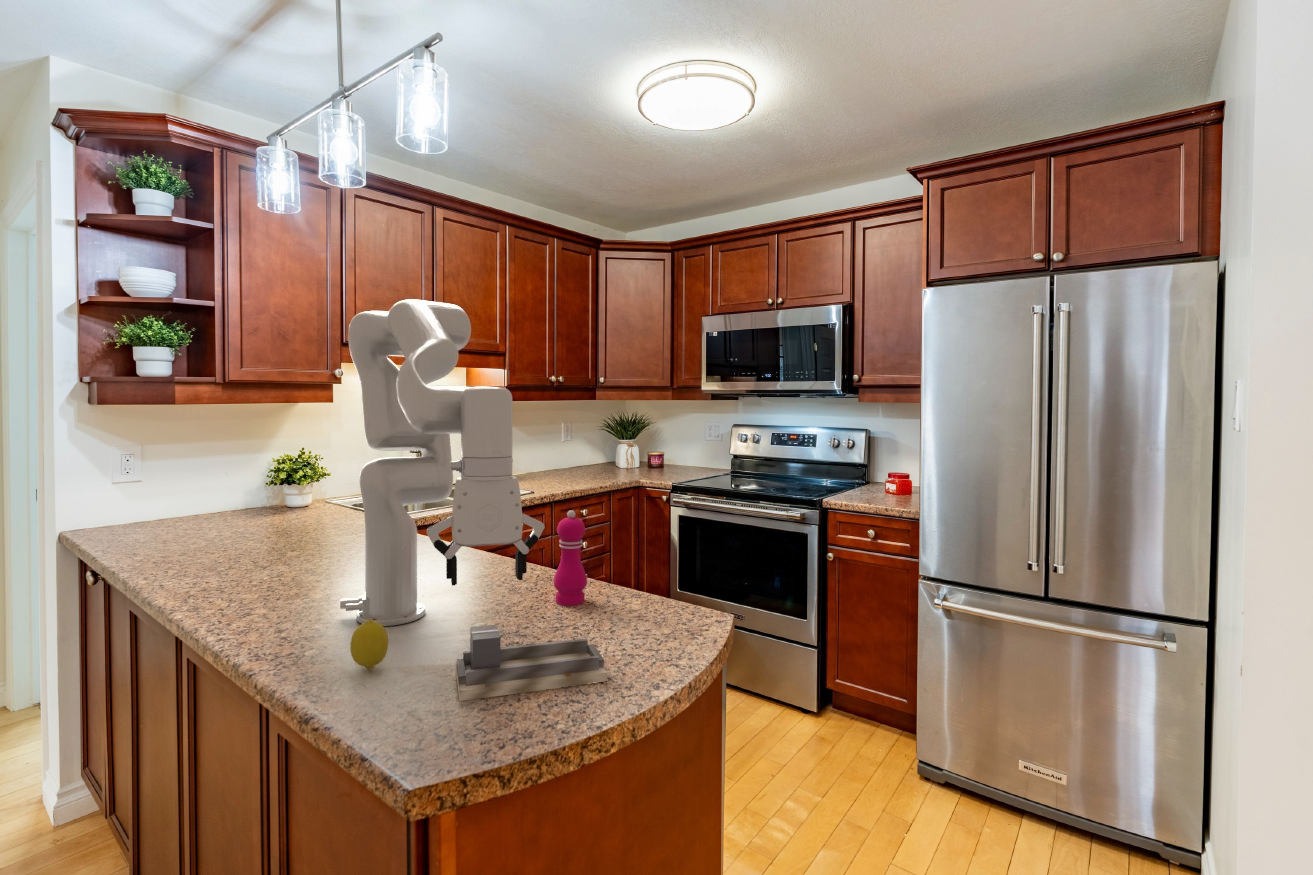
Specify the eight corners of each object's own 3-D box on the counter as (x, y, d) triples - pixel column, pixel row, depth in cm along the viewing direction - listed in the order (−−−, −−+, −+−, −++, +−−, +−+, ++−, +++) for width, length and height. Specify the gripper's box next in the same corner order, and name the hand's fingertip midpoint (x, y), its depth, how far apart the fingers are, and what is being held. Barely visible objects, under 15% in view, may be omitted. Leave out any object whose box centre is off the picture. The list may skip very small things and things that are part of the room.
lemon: (358, 662, 105) (358, 614, 105) (393, 662, 105) (393, 614, 105) (344, 676, 99) (344, 626, 99) (381, 676, 100) (381, 625, 100)
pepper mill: (580, 607, 135) (582, 514, 134) (548, 605, 137) (549, 512, 136) (590, 597, 143) (592, 508, 142) (560, 595, 144) (561, 506, 143)
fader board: (459, 700, 92) (459, 677, 92) (456, 670, 103) (456, 649, 102) (607, 681, 100) (607, 659, 100) (590, 655, 110) (590, 635, 110)
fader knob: (472, 679, 95) (472, 639, 95) (470, 664, 101) (470, 626, 100) (500, 676, 97) (500, 636, 96) (496, 661, 102) (496, 623, 102)
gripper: (426, 472, 91) (426, 592, 91) (548, 469, 96) (548, 582, 97) (426, 467, 98) (426, 579, 98) (540, 465, 103) (539, 570, 104)
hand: (487, 580), depth 98 cm, fingers open, 9 cm apart
